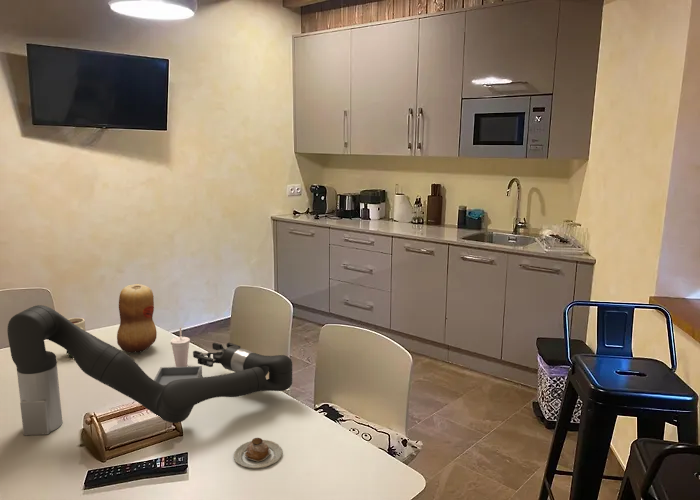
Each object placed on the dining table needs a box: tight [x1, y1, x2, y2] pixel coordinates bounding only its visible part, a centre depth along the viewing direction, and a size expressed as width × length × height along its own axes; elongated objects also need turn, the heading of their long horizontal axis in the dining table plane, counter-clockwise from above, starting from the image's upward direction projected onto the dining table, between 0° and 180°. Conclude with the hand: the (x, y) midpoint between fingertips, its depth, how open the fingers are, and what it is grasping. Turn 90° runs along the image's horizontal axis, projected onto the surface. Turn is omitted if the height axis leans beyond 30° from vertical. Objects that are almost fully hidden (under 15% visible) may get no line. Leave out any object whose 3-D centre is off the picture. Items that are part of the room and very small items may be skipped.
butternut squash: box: [116, 283, 158, 354], centre depth 195 cm, size 14×13×25 cm
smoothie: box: [170, 326, 191, 367], centre depth 184 cm, size 6×6×14 cm
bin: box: [153, 365, 203, 386], centre depth 171 cm, size 13×13×4 cm
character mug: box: [66, 317, 86, 358], centre depth 192 cm, size 11×7×13 cm, turn 56°
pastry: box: [233, 437, 283, 469], centre depth 134 cm, size 12×12×5 cm
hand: (203, 349), depth 178 cm, fingers open, 8 cm apart
